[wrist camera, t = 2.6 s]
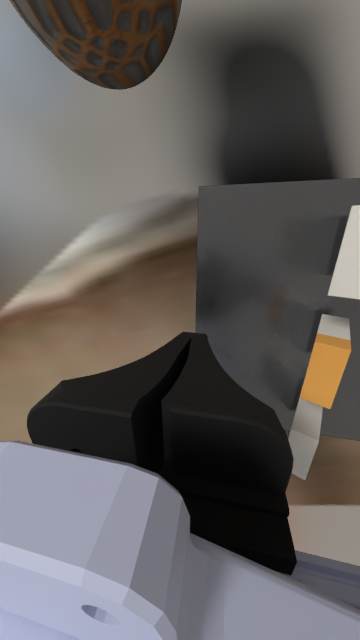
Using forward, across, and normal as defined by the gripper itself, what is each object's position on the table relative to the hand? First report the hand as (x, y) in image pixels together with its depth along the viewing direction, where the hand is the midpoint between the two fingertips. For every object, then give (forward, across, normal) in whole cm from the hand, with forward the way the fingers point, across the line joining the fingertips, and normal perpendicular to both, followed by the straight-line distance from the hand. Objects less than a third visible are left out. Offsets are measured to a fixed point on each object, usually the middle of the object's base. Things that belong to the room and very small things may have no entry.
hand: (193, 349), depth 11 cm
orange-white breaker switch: (+3, -8, 0) cm, 8 cm away
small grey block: (+3, -8, +5) cm, 10 cm away
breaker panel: (+5, -8, 0) cm, 9 cm away
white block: (+3, -8, -5) cm, 10 cm away
